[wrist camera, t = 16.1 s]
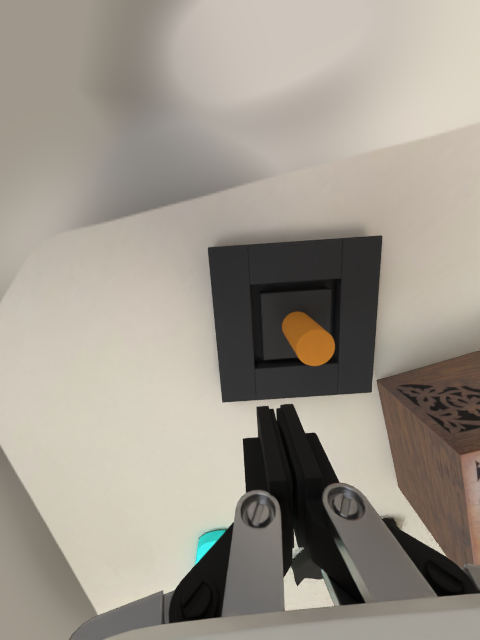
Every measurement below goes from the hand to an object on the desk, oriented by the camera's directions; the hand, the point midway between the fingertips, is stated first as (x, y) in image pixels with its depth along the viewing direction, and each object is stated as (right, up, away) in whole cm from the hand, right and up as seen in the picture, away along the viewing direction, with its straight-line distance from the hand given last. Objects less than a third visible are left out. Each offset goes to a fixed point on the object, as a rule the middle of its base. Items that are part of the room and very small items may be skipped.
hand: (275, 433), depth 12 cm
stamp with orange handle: (+3, +5, +12) cm, 13 cm away
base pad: (+3, +5, +13) cm, 14 cm away
